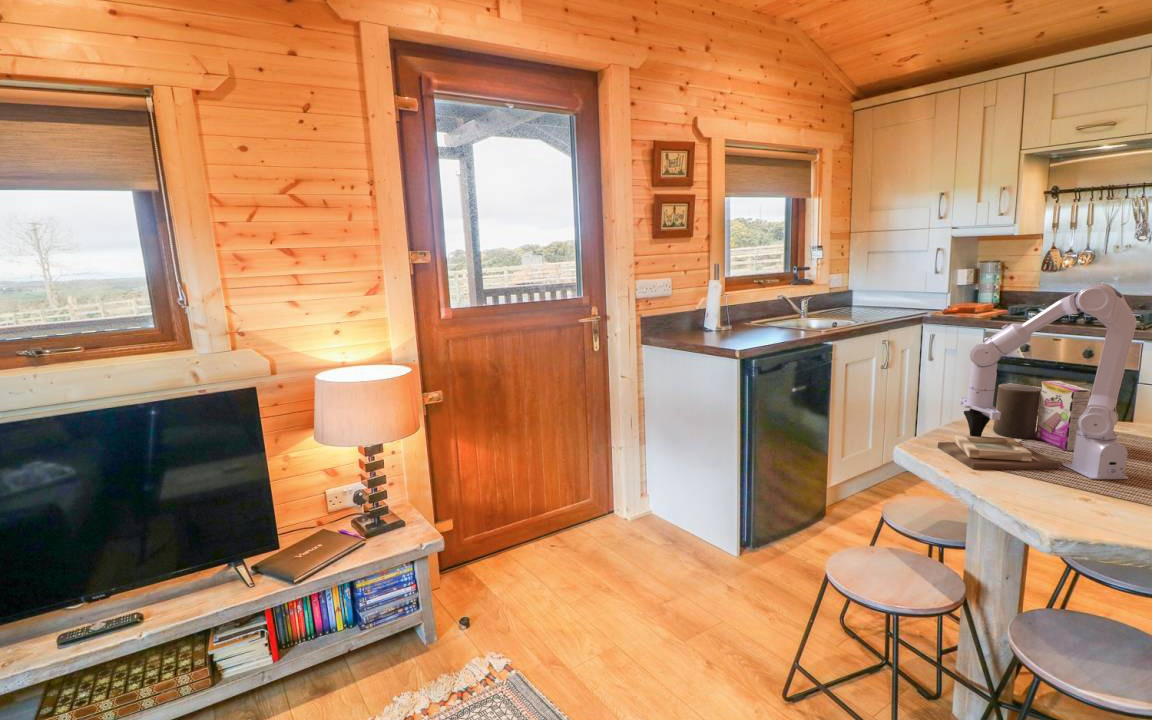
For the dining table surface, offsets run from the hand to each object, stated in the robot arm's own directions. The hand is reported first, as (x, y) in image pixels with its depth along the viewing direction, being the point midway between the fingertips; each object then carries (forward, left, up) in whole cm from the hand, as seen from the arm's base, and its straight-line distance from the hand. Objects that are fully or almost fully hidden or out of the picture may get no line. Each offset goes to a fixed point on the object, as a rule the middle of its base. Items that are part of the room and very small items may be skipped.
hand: (975, 437), depth 155 cm
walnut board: (-7, -1, -3) cm, 7 cm away
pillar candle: (+13, -18, -3) cm, 23 cm away
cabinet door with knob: (-7, 0, -1) cm, 7 cm away
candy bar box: (+3, -24, -3) cm, 24 cm away
